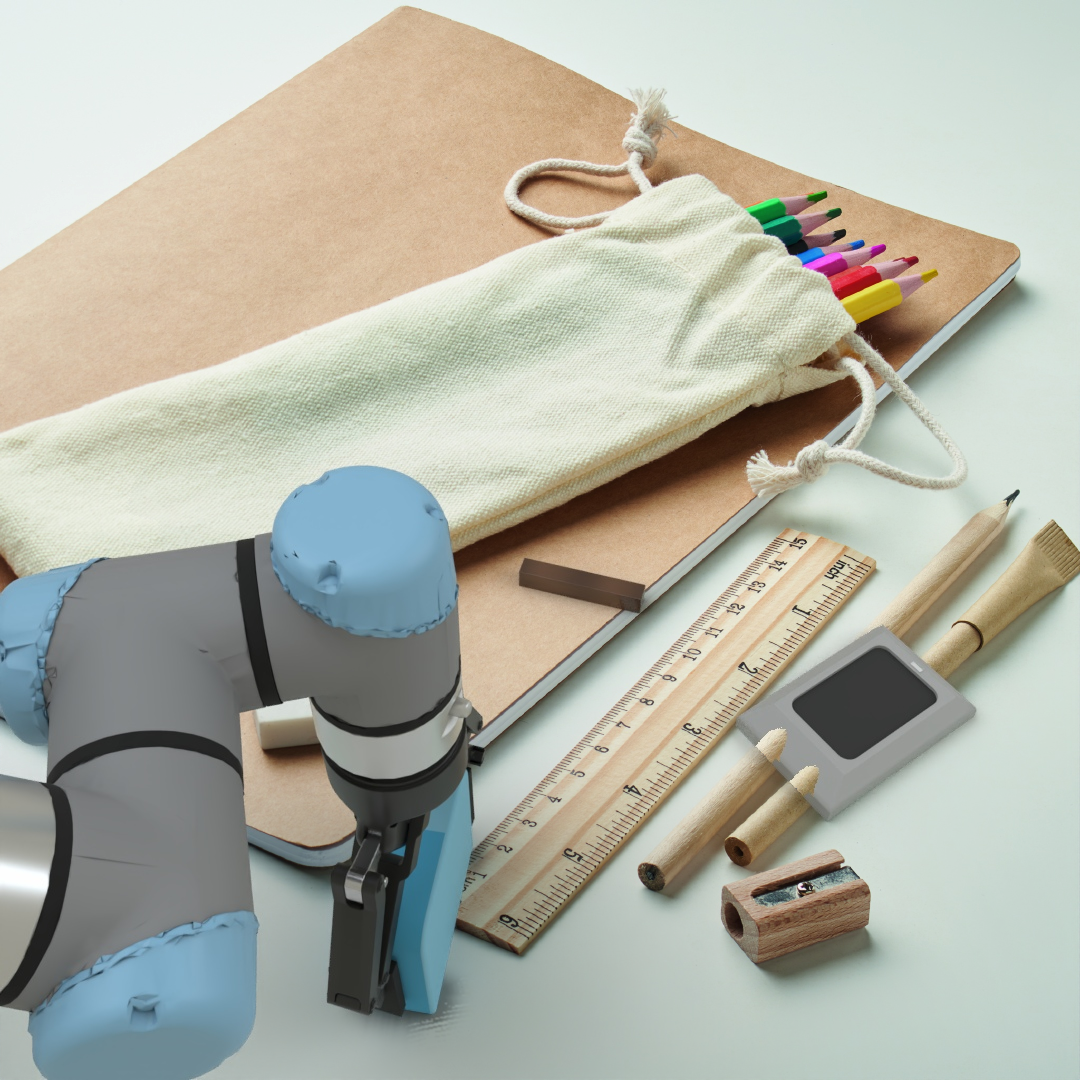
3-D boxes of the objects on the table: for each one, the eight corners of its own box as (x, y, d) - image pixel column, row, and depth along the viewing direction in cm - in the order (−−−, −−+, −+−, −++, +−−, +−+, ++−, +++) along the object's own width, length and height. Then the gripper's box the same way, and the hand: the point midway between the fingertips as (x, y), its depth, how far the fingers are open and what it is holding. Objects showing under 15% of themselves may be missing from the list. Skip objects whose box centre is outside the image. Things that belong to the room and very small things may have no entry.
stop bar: (518, 595, 98) (518, 571, 96) (524, 581, 100) (524, 557, 97) (638, 623, 97) (641, 599, 94) (643, 608, 98) (645, 584, 95)
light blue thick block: (410, 839, 84) (396, 747, 75) (474, 849, 84) (467, 758, 75) (366, 1011, 76) (344, 931, 67) (436, 1023, 76) (423, 944, 67)
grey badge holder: (739, 707, 87) (886, 612, 93) (733, 734, 90) (876, 641, 96) (833, 804, 82) (982, 698, 88) (823, 830, 85) (968, 725, 90)
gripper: (370, 969, 53) (407, 1119, 69) (532, 561, 69) (531, 761, 85) (214, 922, 54) (286, 1080, 70) (408, 533, 70) (430, 735, 86)
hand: (420, 906), depth 78 cm, fingers closed on light blue thick block, 12 cm apart
